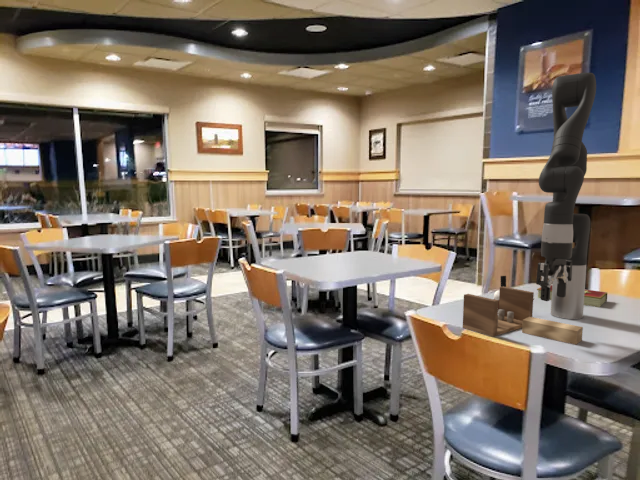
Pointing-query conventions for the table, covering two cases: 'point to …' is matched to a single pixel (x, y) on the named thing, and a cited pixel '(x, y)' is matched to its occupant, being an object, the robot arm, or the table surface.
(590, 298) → the hardcover book
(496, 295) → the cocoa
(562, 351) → the table surface
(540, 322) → the shelf board
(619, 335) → the table surface
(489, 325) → the peg rack
